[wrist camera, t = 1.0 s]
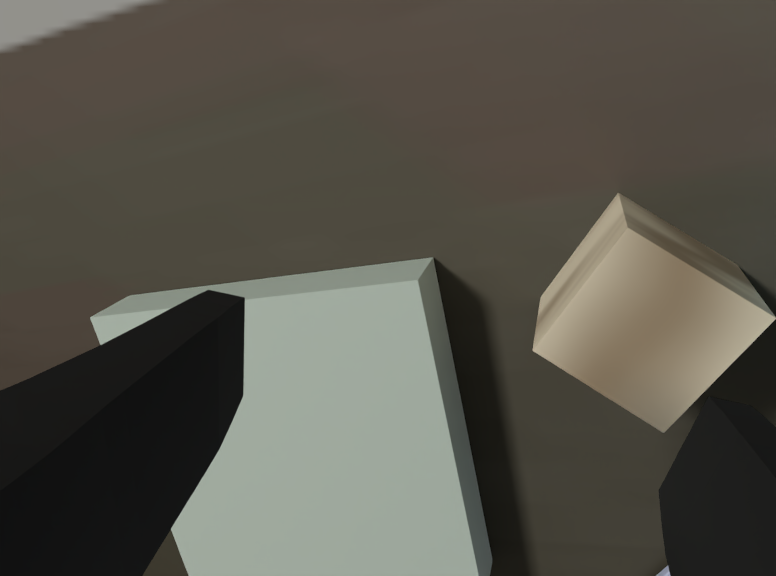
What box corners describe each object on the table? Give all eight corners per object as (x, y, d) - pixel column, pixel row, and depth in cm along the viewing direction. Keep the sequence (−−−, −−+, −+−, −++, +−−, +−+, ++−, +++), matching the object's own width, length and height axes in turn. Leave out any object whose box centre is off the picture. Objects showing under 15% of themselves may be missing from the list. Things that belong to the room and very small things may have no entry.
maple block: (737, 264, 20) (776, 318, 16) (648, 363, 22) (663, 432, 18) (618, 192, 20) (627, 227, 16) (540, 296, 22) (532, 350, 18)
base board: (433, 257, 23) (417, 279, 21) (492, 559, 27) (485, 606, 25) (129, 295, 27) (89, 317, 25) (220, 549, 32) (193, 587, 29)
